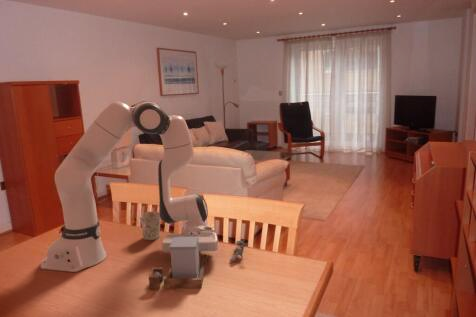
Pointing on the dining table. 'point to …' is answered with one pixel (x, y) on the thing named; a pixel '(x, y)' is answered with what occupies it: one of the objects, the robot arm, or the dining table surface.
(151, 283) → the bay
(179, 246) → the gray rectangular block
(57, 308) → the dining table surface
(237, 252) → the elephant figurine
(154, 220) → the mug
